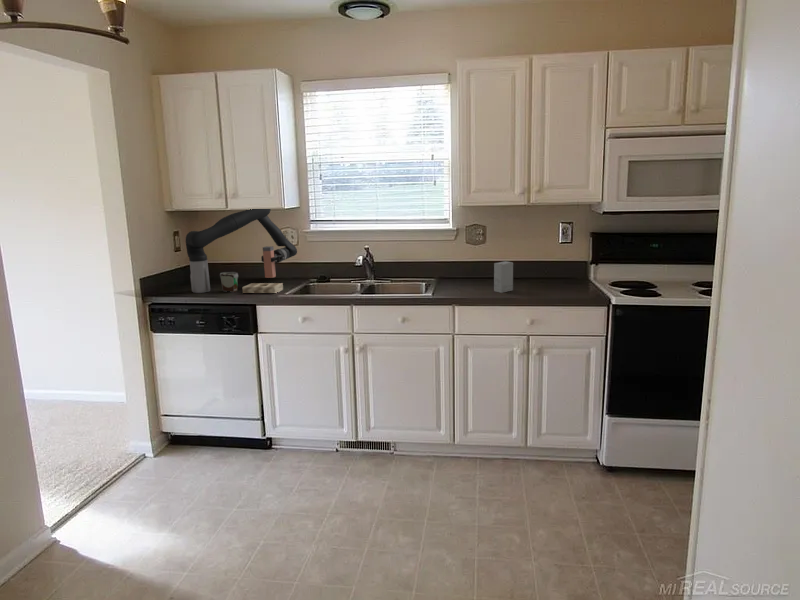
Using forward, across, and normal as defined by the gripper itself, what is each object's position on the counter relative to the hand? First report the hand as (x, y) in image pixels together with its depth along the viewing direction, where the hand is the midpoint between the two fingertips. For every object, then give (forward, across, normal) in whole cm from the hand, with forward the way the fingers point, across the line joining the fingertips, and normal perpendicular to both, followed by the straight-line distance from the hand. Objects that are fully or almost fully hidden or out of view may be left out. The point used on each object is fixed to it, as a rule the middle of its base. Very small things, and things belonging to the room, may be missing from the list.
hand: (267, 260), depth 311 cm
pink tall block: (-3, 0, +10) cm, 10 cm away
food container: (+8, -18, +16) cm, 25 cm away
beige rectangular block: (+10, 0, +16) cm, 19 cm away
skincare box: (+7, +129, +17) cm, 130 cm away
